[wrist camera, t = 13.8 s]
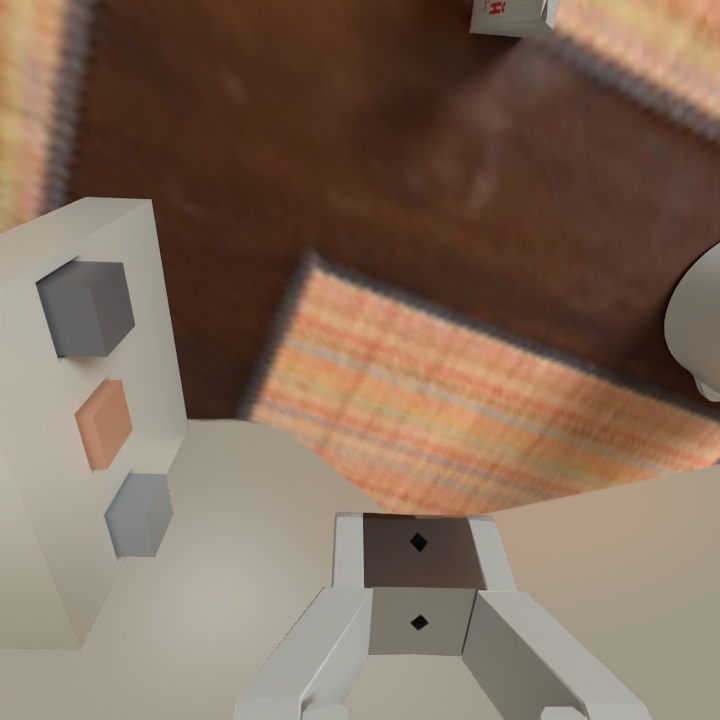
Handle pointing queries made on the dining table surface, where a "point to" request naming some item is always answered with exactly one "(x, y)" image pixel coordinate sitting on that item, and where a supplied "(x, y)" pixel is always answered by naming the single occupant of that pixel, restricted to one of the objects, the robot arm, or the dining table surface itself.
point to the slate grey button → (139, 515)
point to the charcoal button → (86, 307)
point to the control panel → (58, 424)
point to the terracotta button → (104, 423)
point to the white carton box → (513, 17)
